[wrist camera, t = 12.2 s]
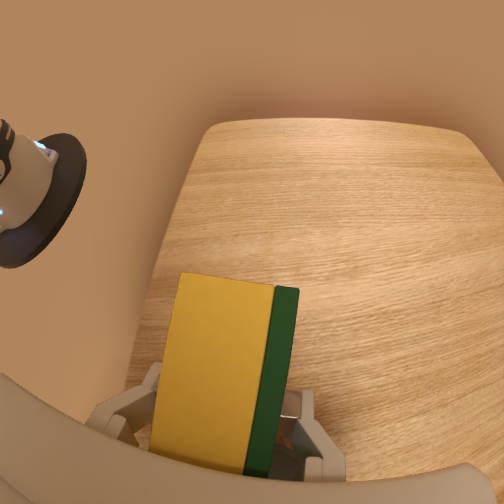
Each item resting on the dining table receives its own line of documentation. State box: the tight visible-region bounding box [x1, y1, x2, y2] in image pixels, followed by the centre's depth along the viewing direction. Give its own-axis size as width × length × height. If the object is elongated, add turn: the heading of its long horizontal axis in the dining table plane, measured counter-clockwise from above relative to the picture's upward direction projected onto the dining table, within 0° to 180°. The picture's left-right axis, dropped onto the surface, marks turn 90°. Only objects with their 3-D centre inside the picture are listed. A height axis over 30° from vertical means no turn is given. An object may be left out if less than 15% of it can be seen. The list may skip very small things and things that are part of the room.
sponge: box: [149, 272, 299, 479], centre depth 11 cm, size 4×9×8 cm, turn 171°
